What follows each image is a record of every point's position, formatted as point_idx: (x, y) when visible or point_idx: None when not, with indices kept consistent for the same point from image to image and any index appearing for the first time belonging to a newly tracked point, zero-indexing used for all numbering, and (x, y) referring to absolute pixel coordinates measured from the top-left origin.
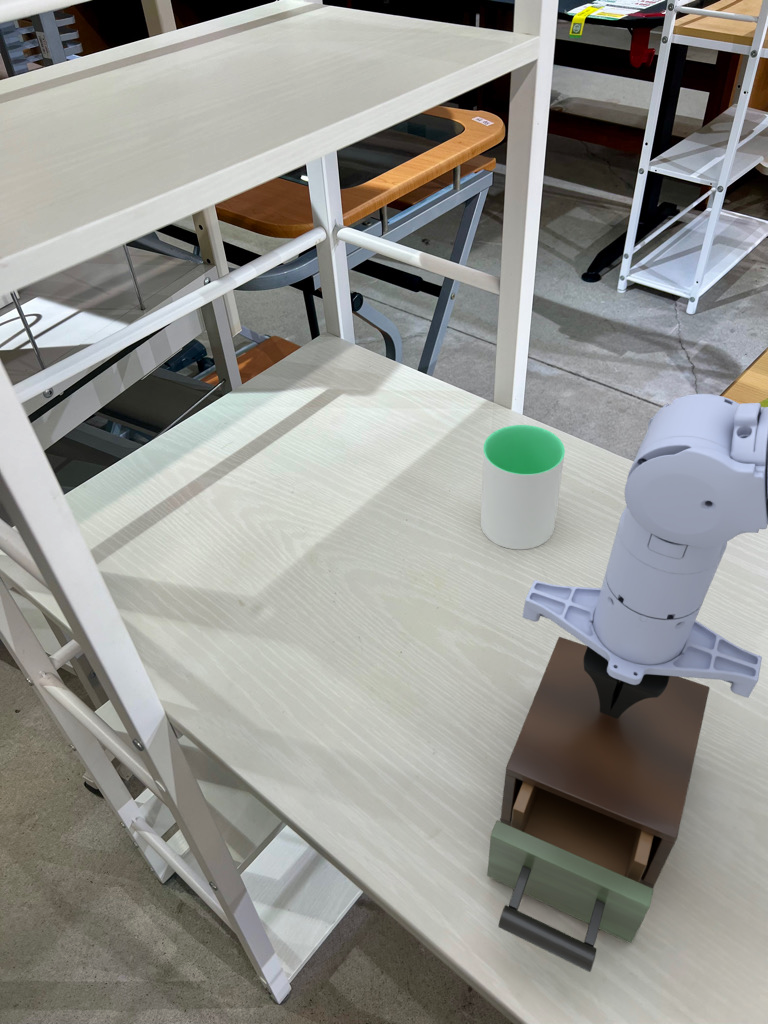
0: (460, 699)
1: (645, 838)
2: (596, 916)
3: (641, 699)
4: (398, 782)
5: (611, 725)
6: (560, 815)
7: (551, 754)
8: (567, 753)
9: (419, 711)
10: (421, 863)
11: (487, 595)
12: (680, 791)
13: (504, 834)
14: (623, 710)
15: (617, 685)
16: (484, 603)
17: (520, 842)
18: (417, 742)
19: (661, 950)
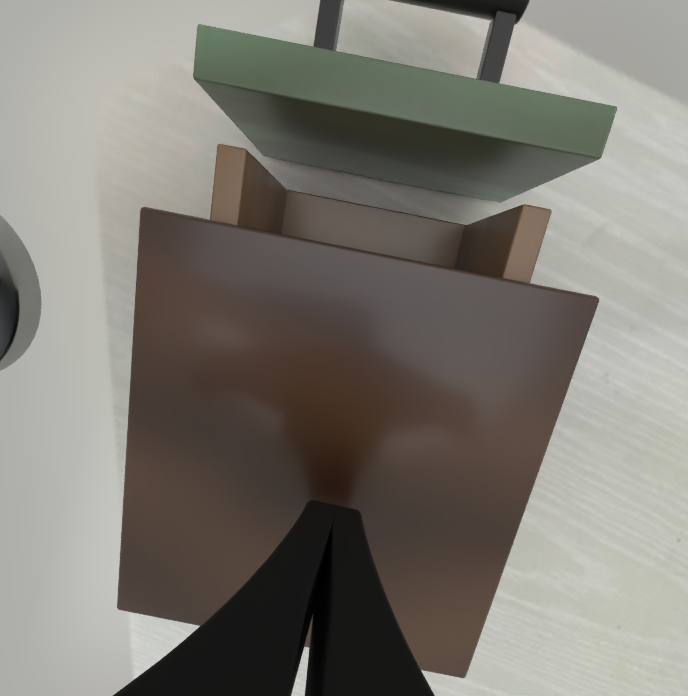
0: (567, 475)
1: (225, 213)
2: (323, 46)
3: (186, 645)
4: (666, 310)
5: (324, 477)
6: None
7: (473, 367)
8: (430, 379)
9: (637, 442)
10: (613, 178)
11: (534, 658)
12: (146, 339)
13: (578, 121)
14: (289, 538)
15: (316, 617)
16: (538, 644)
17: (535, 108)
18: (637, 387)
19: (226, 144)
